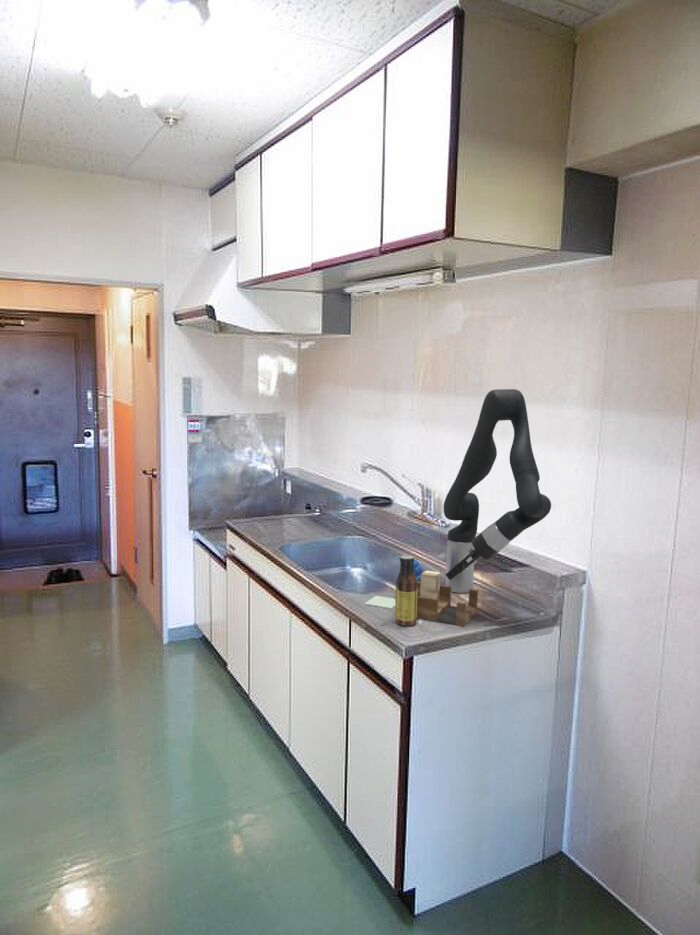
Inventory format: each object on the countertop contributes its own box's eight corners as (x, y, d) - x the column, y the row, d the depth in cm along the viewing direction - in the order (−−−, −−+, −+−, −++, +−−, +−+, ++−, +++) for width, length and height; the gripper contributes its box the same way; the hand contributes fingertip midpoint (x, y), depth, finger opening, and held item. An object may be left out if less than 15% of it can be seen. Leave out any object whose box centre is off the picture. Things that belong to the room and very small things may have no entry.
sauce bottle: (403, 617, 198) (405, 552, 195) (420, 622, 194) (423, 556, 191) (390, 623, 193) (392, 556, 190) (408, 628, 189) (410, 560, 186)
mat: (375, 596, 217) (375, 595, 217) (401, 601, 213) (401, 599, 213) (364, 604, 209) (364, 603, 209) (391, 609, 205) (391, 608, 205)
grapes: (433, 597, 218) (434, 561, 217) (416, 600, 215) (417, 563, 213) (412, 587, 228) (413, 553, 227) (396, 590, 225) (397, 555, 223)
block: (424, 601, 207) (426, 570, 205) (438, 604, 205) (440, 572, 204) (419, 606, 202) (421, 574, 201) (434, 608, 200) (435, 576, 199)
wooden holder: (412, 600, 214) (413, 580, 213) (477, 610, 205) (478, 590, 205) (395, 614, 200) (396, 593, 199) (464, 626, 191) (465, 604, 191)
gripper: (488, 526, 201) (450, 558, 207) (477, 535, 188) (436, 569, 194) (505, 545, 199) (466, 577, 205) (495, 556, 186) (453, 589, 192)
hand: (451, 573), depth 199 cm, fingers open, 8 cm apart
